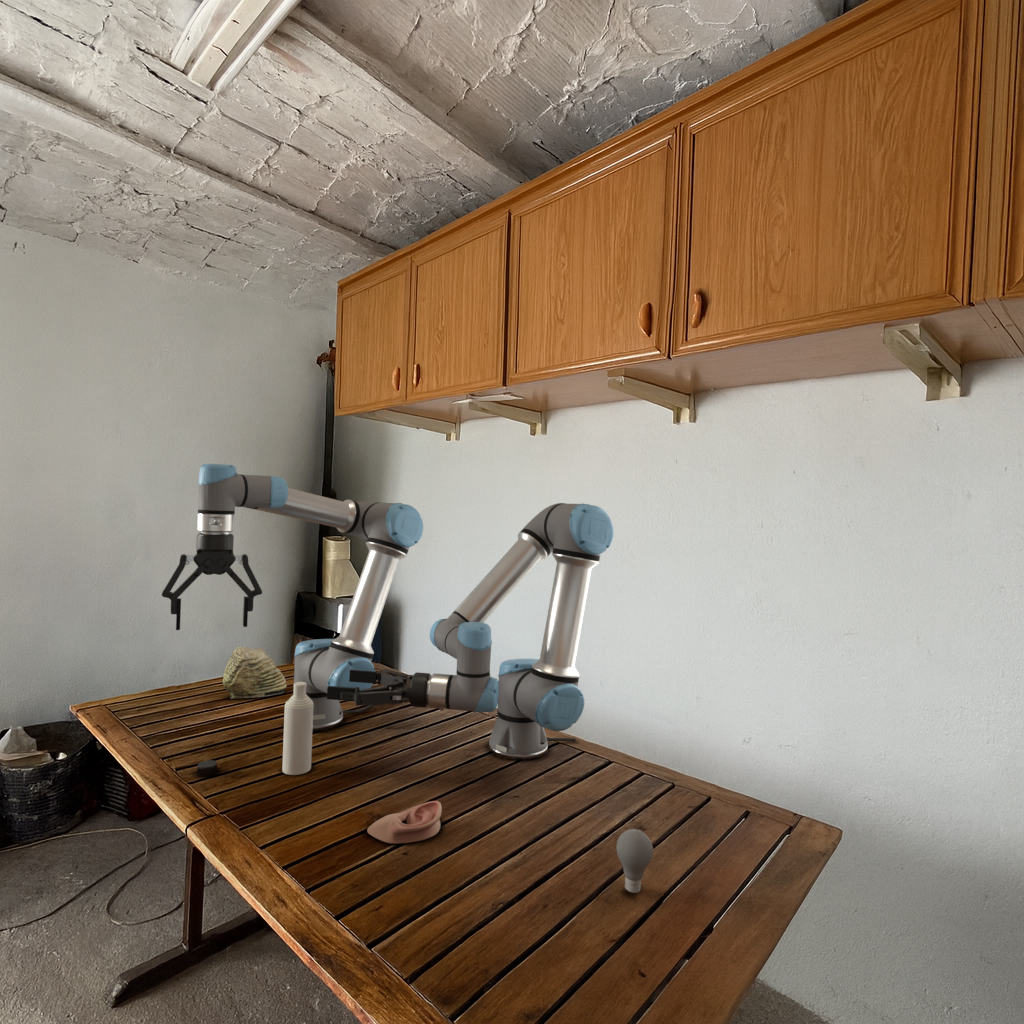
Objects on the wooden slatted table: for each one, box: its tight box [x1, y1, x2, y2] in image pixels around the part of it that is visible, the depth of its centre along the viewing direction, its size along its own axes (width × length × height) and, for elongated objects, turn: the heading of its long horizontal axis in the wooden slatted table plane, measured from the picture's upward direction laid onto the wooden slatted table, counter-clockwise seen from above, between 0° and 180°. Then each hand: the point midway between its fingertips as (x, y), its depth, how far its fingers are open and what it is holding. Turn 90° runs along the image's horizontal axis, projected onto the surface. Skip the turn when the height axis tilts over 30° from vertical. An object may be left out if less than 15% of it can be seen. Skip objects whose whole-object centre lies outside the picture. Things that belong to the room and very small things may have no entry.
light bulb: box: [615, 828, 654, 894], centre depth 106 cm, size 6×6×10 cm
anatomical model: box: [366, 800, 443, 845], centre depth 122 cm, size 13×4×12 cm
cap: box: [196, 759, 218, 777], centre depth 143 cm, size 4×4×2 cm
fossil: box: [222, 646, 288, 699], centre depth 198 cm, size 9×18×15 cm, turn 132°
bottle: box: [281, 682, 314, 776], centre depth 146 cm, size 6×6×20 cm
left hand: (212, 627), depth 142 cm, fingers open, 13 cm apart
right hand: (339, 683), depth 145 cm, fingers open, 13 cm apart
